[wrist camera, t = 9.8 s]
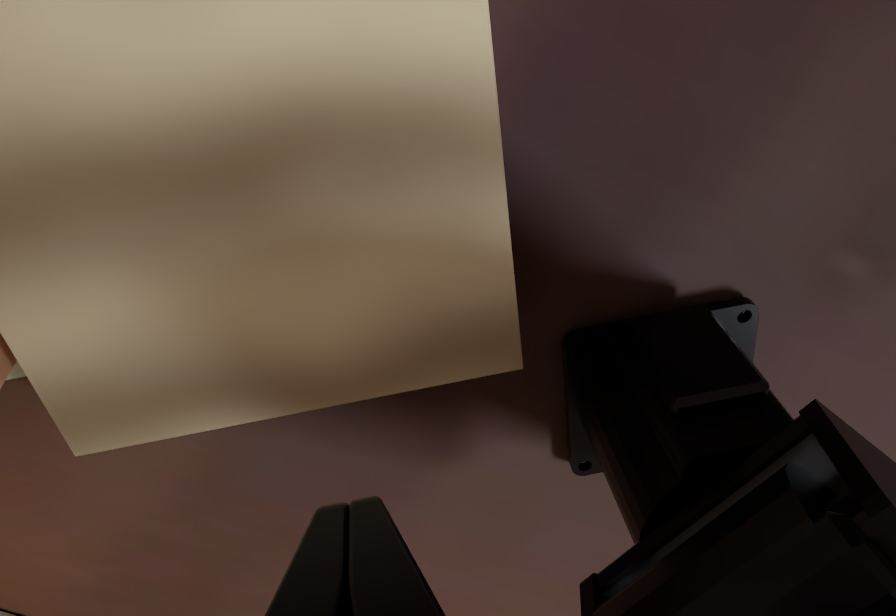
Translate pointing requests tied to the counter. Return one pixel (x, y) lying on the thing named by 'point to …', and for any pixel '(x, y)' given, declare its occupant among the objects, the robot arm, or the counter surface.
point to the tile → (5, 360)
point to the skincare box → (5, 614)
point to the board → (248, 208)
